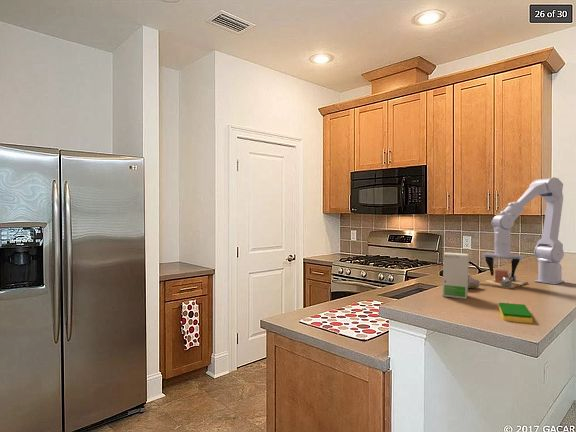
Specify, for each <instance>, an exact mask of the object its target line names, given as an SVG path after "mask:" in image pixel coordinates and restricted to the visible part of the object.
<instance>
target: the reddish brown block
mask: <svg viewBox="0 0 576 432" xmlns="http://www.w3.org/2000/svg"><path fill="white" fill-rule="evenodd" d="M509 273H510V269H502V268H496V269H495V271H494V275H495V277H494V279H495V282H497V283H500V279H501V278H502V277H503V276H505V277H507V278H508V279H509Z"/></svg>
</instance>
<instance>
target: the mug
mask: <svg viewBox="0 0 576 432" xmlns="http://www.w3.org/2000/svg"><path fill="white" fill-rule="evenodd" d="M480 282H481V281H480V280H479V279H478V278H475V277H473V276H471V275H469V274H468V289H470V288H471V289H478V288H479V287H480Z"/></svg>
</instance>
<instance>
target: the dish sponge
mask: <svg viewBox="0 0 576 432" xmlns="http://www.w3.org/2000/svg"><path fill="white" fill-rule="evenodd" d="M498 309H499V313H500V316H501V318H502V320H503V321H506V322H517V323H527V324H533V314H532V313H531V311H529V309H528V308H527V305H526V304H524V303H523V304H522V303H521V304H519V303H509V302H499V303H498Z"/></svg>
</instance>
